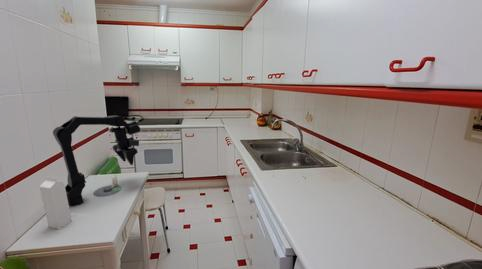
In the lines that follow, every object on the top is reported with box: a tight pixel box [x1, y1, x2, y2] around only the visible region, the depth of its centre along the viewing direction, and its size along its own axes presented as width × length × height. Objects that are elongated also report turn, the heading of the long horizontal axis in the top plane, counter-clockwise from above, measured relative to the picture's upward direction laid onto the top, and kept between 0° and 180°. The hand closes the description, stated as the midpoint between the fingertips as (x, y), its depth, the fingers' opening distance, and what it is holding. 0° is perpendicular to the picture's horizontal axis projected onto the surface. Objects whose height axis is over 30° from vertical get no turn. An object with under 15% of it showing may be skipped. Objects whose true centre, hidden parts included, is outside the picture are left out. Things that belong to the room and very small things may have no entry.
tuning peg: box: [103, 175, 119, 192], centre depth 135 cm, size 9×4×6 cm, turn 167°
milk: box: [39, 176, 72, 230], centre depth 102 cm, size 6×6×22 cm
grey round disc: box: [92, 184, 123, 198], centre depth 134 cm, size 14×14×1 cm
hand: (128, 163), depth 138 cm, fingers open, 9 cm apart
